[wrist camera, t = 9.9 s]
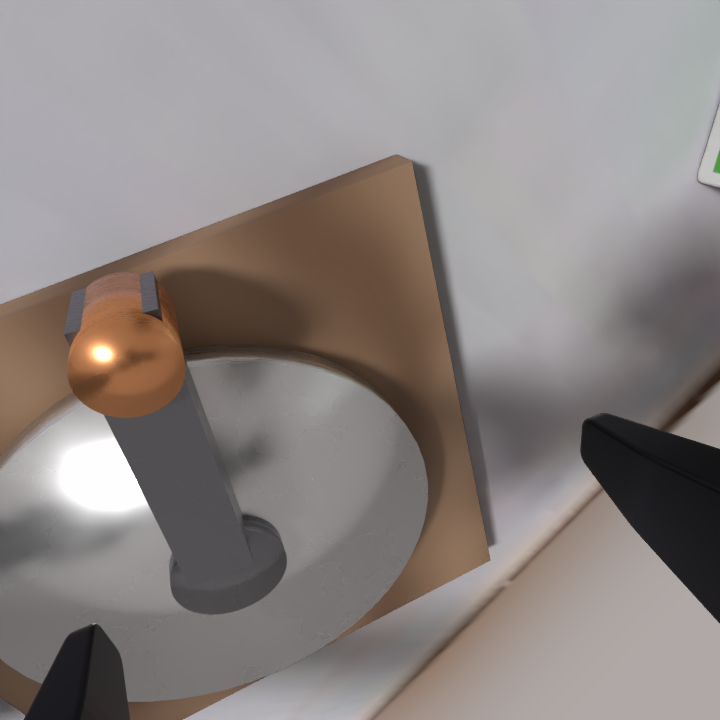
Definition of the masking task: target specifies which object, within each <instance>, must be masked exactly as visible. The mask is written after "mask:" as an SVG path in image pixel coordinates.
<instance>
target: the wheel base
mask: <svg viewBox="0 0 720 720" xmlns="http://www.w3.org/2000/svg"><path fill="white" fill-rule="evenodd" d="M151 271H153V272H154V274H155V277H156V280H157V283H158V284H160V285H161V286H162V287H163V288H164V289H165V290H166V291H167V293H168V294H169V296H170V297H171V299H172V301H173V304H174V307H175V312H176V318H177V323H178V328H179V333H180V339H181V344H182V349H183V350H184V349H190V348H198V347H207V346H215V345H263V346H271V347H280V348H288V349H292V350H296V351H300V352H304V353H308V354H312V355H316V356H318V357H321V358H323V359H326V360H328V361H331V362H333V363H336V364H338V365H341V366H342V367H344V368H346V369H348V370H349V371H351V372H353V373H355V374H356V375H358V376H360V377H362V378H363V379H364V380H365V381H367V382H368V383H369V384H370V385H371V386H373V387H374V388H375V389H376V390H378V391H379V392H380V393H381V394H382V395H383V397H384V398H385V399H386V400H387V401H388V402H389V403H390V404H391V406H392V407H393V408H394V409H395V411H396V412H397V413H398V415H399V416H400V418H401V419H402V420H403V422H404V423H405V425H406V426H407V428H408V429H409V431H410V432H411V434H412V436H413V437H414V439H415V441H416V442H417V444H418V447H419V449H420V452H421V455H422V457H423V460H424V463H425V469H426V474H427V480H428V502H427V509H426V516H425V521H424V524H423V527H422V531H421V534H420V537H419V540H418V542H417V544H416V546H415V549H414V551H413V553H412V555H411V557H410V559H409V560H408V562H407V564H406V565H405V567H404V569H403V571H402V572H401V574H400V575H399V576H398V578H397V579H396V581H395V582H394V583H393V585H392V586H391V587H390V589H389V590H388V591H387V592H386V593H385V594H384V596H383V597H382V598H381V599H380V600H379V601H378V602H377V603H376V604H375V606H374V607H373V608H372V609H370V610H369V611H368V612H367V613H366V614H365V615H364V616H363V617H362V618H361V619H360V620H359V621H358V622H356V623H355V624H354V625H353V626H351V627H350V628H349V629H347V630H346V631H345V632H344V633H342V634H341V635H340V636H339V637H337V638H336V639H334V640H333V641H331V642H330V643H332V642H334V641H336V640H337V639H339V638H341V637H343V636H345V635H347V634H349V633H351V632H353V631H355V630H357V629H359V628H361V627H363V626H365V625H366V624H368V623H370V622H372V621H374V620H376V619H378V618H380V617H382V616H384V615H386V614H388V613H390V612H392V611H394V610H395V609H397V608H399V607H401V606H403V605H405V604H407V603H409V602H411V601H413V600H415V599H417V598H419V597H421V596H423V595H424V594H426V593H428V592H430V591H432V590H434V589H436V588H438V587H440V586H442V585H444V584H446V583H448V582H450V581H452V580H453V579H455V578H457V577H459V576H461V575H463V574H465V573H467V572H469V571H471V570H473V569H475V568H477V567H479V566H481V565H482V564H484V563H486V562H488V561H490V555H489V550H488V545H487V540H486V535H485V530H484V525H483V520H482V515H481V510H480V505H479V500H478V495H477V489H476V484H475V479H474V474H473V469H472V464H471V459H470V454H469V449H468V444H467V439H466V434H465V429H464V423H463V418H462V413H461V408H460V403H459V398H458V393H457V388H456V383H455V378H454V373H453V368H452V363H451V357H450V352H449V347H448V342H447V337H446V332H445V327H444V322H443V317H442V312H441V307H440V302H439V297H438V292H437V286H436V281H435V276H434V271H433V266H432V261H431V256H430V251H429V246H428V241H427V236H426V231H425V226H424V220H423V215H422V210H421V205H420V200H419V195H418V190H417V185H416V180H415V175H414V170H413V165H412V161H410V160H407V159H405V158H403V157H401V156H399V155H393V156H391V157H388V158H386V159H383V160H380V161H378V162H375V163H372V164H370V165H367V166H365V167H362V168H359V169H357V170H354V171H351V172H349V173H346V174H343V175H341V176H338V177H336V178H333V179H330V180H328V181H325V182H322V183H320V184H317V185H315V186H312V187H309V188H307V189H304V190H301V191H299V192H296V193H293V194H291V195H288V196H286V197H283V198H280V199H278V200H275V201H272V202H270V203H267V204H264V205H262V206H259V207H257V208H254V209H251V210H249V211H246V212H243V213H241V214H238V215H236V216H233V217H230V218H228V219H225V220H222V221H220V222H217V223H214V224H212V225H209V226H207V227H204V228H201V229H199V230H196V231H193V232H191V233H188V234H185V235H183V236H180V237H178V238H175V239H172V240H170V241H167V242H164V243H162V244H159V245H157V246H154V247H151V248H149V249H146V250H143V251H141V252H138V253H135V254H133V255H130V256H128V257H125V258H122V259H120V260H117V261H114V262H112V263H109V264H107V265H104V266H101V267H99V268H96V269H93V270H91V271H88V272H85V273H83V274H80V275H78V276H75V277H72V278H70V279H67V280H64V281H62V282H59V283H56V284H54V285H51V286H49V287H46V288H43V289H41V290H38V291H35V292H33V293H30V294H28V295H25V296H22V297H20V298H17V299H14V300H12V301H9V302H6V303H4V304H1V305H0V457H1V455H2V454H3V452H4V451H5V450H6V449H7V448H8V446H9V445H10V444H11V443H12V442H13V441H14V440H15V439H16V438H17V437H18V435H19V434H20V433H21V432H22V431H23V430H24V429H25V428H26V427H27V426H28V425H29V424H30V423H32V422H33V421H34V420H35V419H36V418H38V417H39V416H40V415H41V414H42V413H44V412H45V411H46V410H47V409H48V408H50V407H51V406H52V405H53V404H55V403H56V402H58V401H60V400H61V399H63V398H64V397H66V396H67V395H69V394H71V393H72V392H73V391H72V389H71V387H70V385H69V382H68V377H67V364H68V358H69V352H70V346H69V344H68V342H67V340H66V338H65V336H64V331H65V326H66V320H67V315H68V310H69V305H70V299H71V294H72V292H73V291H77V290H81V289H85V288H87V287H88V286H89V285H90V284H91V283H92V282H94V281H95V280H97V279H99V278H101V277H103V276H105V275H109V274H113V273H120V272H129V273H136V274H143V273H147V272H151ZM330 643H328V644H330ZM328 644H327V645H328ZM325 646H326V645H325ZM265 677H266V676H265ZM263 678H264V677H263ZM260 679H262V678H260ZM260 679H258V680H260ZM258 680H255V681H252V682H249V683H246V684H243V685H240V686H237V687H234V688H230V689H227V690H223V691H219V692H215V693H210V694H206V695H202V696H196V697H189V698H183V699H177V700H166V701H153V702H128V707H129V714H130V720H183V719H185V718H187V717H189V716H191V715H192V714H194V713H196V712H198V711H200V710H202V709H204V708H206V707H208V706H210V705H212V704H214V703H216V702H218V701H220V700H221V699H223V698H225V697H227V696H229V695H231V694H233V693H235V692H237V691H239V690H241V689H243V688H245V687H247V686H249V685H250V684H252V683H254V682H256V681H258ZM41 685H42V684H41V683H39V682H36V681H34V680H32V679H30V678H28V677H26V676H24V675H23V674H21V673H20V672H18V671H16V670H15V669H13V668H12V667H10V666H9V665H7V664H6V663H5V662H4V661H2V660H1V659H0V697H1V698H2V699H4V700H5V701H7V702H8V703H9V704H11V705H12V706H14V707H15V708H16V709H18V710H19V711H21V712H22V713H23V714H25V715H26V714H27V712H28V710H29V708H30V706H31V704H32V702H33V700H34V698H35V697H36V695H37V693H38V691H39V689H40V687H41Z"/></svg>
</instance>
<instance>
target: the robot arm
mask: <svg viewBox="0 0 720 720" xmlns="http://www.w3.org/2000/svg"><path fill="white" fill-rule="evenodd" d="M580 451H581V456H582V459H583V461H584V463H585V464H586V466H587V467H588V468H589V470H590V471H591V472H592V474H593V475H594V476H595V478H596V479H597V481H598V482H599V483H600V485H601V486H602V487H603V489H604V490H605V491H606V493H607V494H608V495H609V497H610V498H611V499H612V501H613V502H614V503H615V505H616V506H617V507H618V509H619V510H620V512H621V513H622V514H623V516H624V517H625V518H626V519H627V521H628V522H629V523H630V525H631V526H632V527H633V528H634V529H635V531H636V532H637V533H638V534H639V535H640V536H641V537H642V539H643V540H644V541H645V542H646V543H647V544H648V545H649V546H650V547H651V548H652V550H653V551H654V552H655V553H656V554H657V555H658V556H659V557H660V558H661V559H662V561H663V562H664V563H665V564H666V565H667V566H668V567H669V568H670V569H671V570H672V572H673V573H674V574H675V575H676V576H677V577H678V578H679V579H680V580H681V581H682V582H683V584H684V585H685V586H686V587H687V588H688V589H689V590H690V591H691V592H692V593H693V595H694V596H695V597H696V598H697V599H698V600H699V601H700V602H701V603H702V604H703V606H704V607H705V608H706V609H707V610H708V611H709V612H710V613H711V614H712V615H713V617H714V618H715V619H716V620H717V621H718V622H719V623H720V449H718V448H715V447H712V446H709V445H706V444H703V443H699V442H696V441H693V440H690V439H687V438H683V437H680V436H677V435H674V434H671V433H668V432H665V431H661V430H658V429H655V428H652V427H649V426H646V425H643V424H639V423H636V422H633V421H630V420H627V419H624V418H620V417H617V416H614V415H611V414H607V413H600V414H597V415H595V416H593V417H590V418H588V419H586V420H585V421H584V422H583V425H582V436H581V449H580ZM24 720H130V714H129V707H128V700H127V692H126V685H125V678H124V670H123V663H122V659H121V656H120V653H119V651H118V649H117V648H116V646H115V645H114V644H113V642H112V641H111V640H110V638H109V637H108V636H107V634H106V633H105V632H104V630H103V629H102V628H101V627H100V626H99V625H98V624H96V623H93V624H90V625H87V626H85V627H82V628H80V629H78V630H75V631H73V632H71V633H70V634H69V635H68V636H67V637H66V639H65V640H64V642H63V644H62V646H61V648H60V650H59V652H58V654H57V656H56V658H55V660H54V662H53V664H52V665H51V667H50V669H49V671H48V673H47V675H46V677H45V679H44V681H43V683H42V685H41V687H40V689H39V691H38V693H37V695H36V697H35V698H34V700H33V702H32V704H31V706H30V708H29V710H28V712H27V714H26V716H25V718H24Z"/></svg>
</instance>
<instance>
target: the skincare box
mask: <svg viewBox="0 0 720 720" xmlns="http://www.w3.org/2000/svg"><path fill="white" fill-rule="evenodd" d="M697 179H698V181H699V182H701V183H704V184H707V185H711V186H715V187H719V188H720V104H719V107H718V110H717V114H716V117H715V120H714V123H713V127H712V130H711V133H710V136H709V139H708V143H707V146H706V150H705V153H704V156H703V159H702V162H701V165H700V168H699V171H698V176H697Z"/></svg>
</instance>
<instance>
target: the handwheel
mask: <svg viewBox="0 0 720 720" xmlns="http://www.w3.org/2000/svg"><path fill="white" fill-rule="evenodd" d="M64 336H65V338H66V340H67V342H68V344H69V346H70V352H69V358H68V364H67V377H68V382H69V385H70V387H71V389H72V391H73V392H72V393H71V394H69V395H67V396H66V397H64V398H63V399H61V400H60V401H58V402H56V403H55V404H53V405H52V406H51V407H50V408H48V409H47V410H46V411H45V412H44V413H42V414H41V415H40V416H39V417H38V418H36V419H35V420H34V421H33V422H32V423H30V424H29V425H28V426H27V427H26V428H25V429H24V430H23V431H22V432H21V433H20V434H19V435H18V437H17V438H16V439H15V440H14V441H13V442H12V443H11V444H10V445H9V446H8V448H7V449H6V450H5V451H4V452H3V454H2V455H1V457H0V659H1V660H2V661H4V662H5V663H6V664H7V665H9V666H10V667H12V668H13V669H15V670H16V671H18V672H20V673H21V674H23V675H24V676H26V677H28V678H30V679H32V680H34V681H36V682H39V683H41V684H42V683H43V681H44V679H45V677H46V675H47V673H48V671H49V669H50V667H51V665H52V664H53V662H54V660H55V658H56V656H57V654H58V652H59V650H60V648H61V646H62V644H63V642H64V640H65V639H66V637H67V636H68V635H69V634H70V633H71V632H73V631H75V630H78V629H80V628H82V627H85V626H87V625H90V624H93V623H96V624H98V625H99V626H100V627H101V628H102V629H103V630H104V632H105V633H106V634H107V636H108V637H109V638H110V640H111V641H112V642H113V644H114V645H115V646H116V648H117V649H118V651H119V653H120V656H121V659H122V663H123V670H124V678H125V685H126V692H127V700H128V702H153V701H166V700H177V699H183V698H189V697H196V696H202V695H206V694H210V693H215V692H219V691H223V690H227V689H230V688H234V687H237V686H240V685H243V684H246V683H249V682H252V681H255V680H258V679H260V678H263V677H265V676H268V675H270V674H273V673H275V672H277V671H279V670H282V669H284V668H286V667H288V666H290V665H292V664H294V663H296V662H298V661H300V660H302V659H303V658H305V657H307V656H309V655H311V654H312V653H314V652H316V651H318V650H319V649H321V648H322V647H324V646H325V645H327V644H328V643H330V642H331V641H333V640H334V639H336V638H337V637H339V636H340V635H341V634H342V633H344V632H345V631H346V630H347V629H349V628H350V627H351V626H353V625H354V624H355V623H356V622H358V621H359V620H360V619H361V618H362V617H363V616H364V615H365V614H366V613H367V612H368V611H369V610H370V609H372V608H373V607H374V606H375V604H376V603H377V602H378V601H379V600H380V599H381V598H382V597H383V596H384V594H385V593H386V592H387V591H388V590H389V589H390V587H391V586H392V585H393V583H394V582H395V581H396V579H397V578H398V576H399V575H400V574H401V572H402V571H403V569H404V567H405V565H406V564H407V562H408V560H409V559H410V557H411V555H412V553H413V551H414V549H415V546H416V544H417V542H418V540H419V537H420V534H421V531H422V527H423V524H424V521H425V516H426V509H427V502H428V480H427V474H426V469H425V463H424V460H423V457H422V455H421V452H420V449H419V447H418V444H417V442H416V441H415V439H414V437H413V436H412V434H411V432H410V431H409V429H408V428H407V426H406V425H405V423H404V422H403V420H402V419H401V418H400V416H399V415H398V413H397V412H396V411H395V409H394V408H393V407H392V406H391V404H390V403H389V402H388V401H387V400H386V399H385V398H384V397H383V395H382V394H381V393H380V392H379V391H378V390H376V389H375V388H374V387H373V386H371V385H370V384H369V383H368V382H367V381H365V380H364V379H363V378H362V377H360V376H358V375H356V374H355V373H353V372H351V371H349V370H348V369H346V368H344V367H342V366H341V365H338V364H336V363H333V362H331V361H328V360H326V359H323V358H321V357H318V356H316V355H312V354H308V353H304V352H300V351H296V350H292V349H288V348H280V347H271V346H263V345H215V346H207V347H198V348H190V349H184V350H183V349H182V344H181V339H180V333H179V328H178V323H177V318H176V312H175V307H174V304H173V301H172V299H171V297H170V296H169V294H168V293H167V291H166V290H165V289H164V288H163V287H162V286H161V285H160V284H158V283H157V280H156V277H155V274H154V272H153V271H151V272H147V273H143V274H136V273H129V272H120V273H113V274H109V275H105V276H103V277H101V278H99V279H97V280H95V281H94V282H92V283H91V284H90V285H89V286H88V287H87V288H85V289H81V290H77V291H73V292H72V294H71V299H70V305H69V310H68V315H67V320H66V326H65V331H64Z"/></svg>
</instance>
